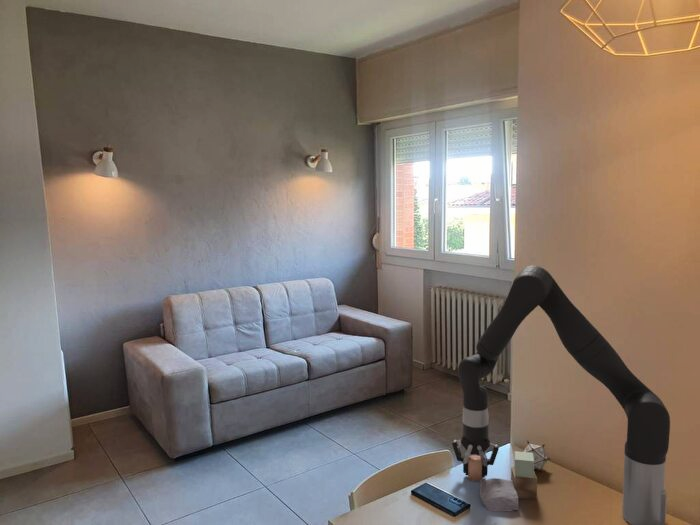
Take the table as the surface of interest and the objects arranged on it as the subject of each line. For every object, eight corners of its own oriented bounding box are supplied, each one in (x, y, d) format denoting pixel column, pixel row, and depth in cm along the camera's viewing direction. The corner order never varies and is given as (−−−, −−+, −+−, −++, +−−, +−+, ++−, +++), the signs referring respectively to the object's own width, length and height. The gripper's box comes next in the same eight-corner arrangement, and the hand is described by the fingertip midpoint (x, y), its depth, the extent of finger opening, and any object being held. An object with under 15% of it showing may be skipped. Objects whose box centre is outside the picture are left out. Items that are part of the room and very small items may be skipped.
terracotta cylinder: (483, 474, 162) (483, 456, 161) (482, 482, 158) (482, 463, 157) (468, 473, 164) (468, 454, 163) (467, 480, 159) (467, 461, 159)
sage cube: (532, 469, 153) (532, 452, 152) (533, 478, 148) (534, 461, 148) (514, 467, 154) (514, 451, 154) (514, 476, 150) (515, 459, 149)
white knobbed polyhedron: (539, 478, 166) (559, 454, 165) (533, 481, 159) (554, 455, 158) (516, 457, 171) (535, 433, 170) (509, 458, 164) (529, 433, 163)
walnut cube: (532, 487, 155) (532, 467, 154) (536, 499, 149) (537, 478, 148) (511, 486, 155) (511, 467, 155) (514, 498, 150) (514, 477, 149)
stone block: (485, 517, 144) (522, 511, 143) (481, 501, 144) (518, 494, 142) (479, 495, 156) (513, 489, 155) (475, 479, 156) (510, 473, 154)
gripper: (449, 423, 157) (449, 478, 159) (499, 428, 153) (499, 485, 155) (452, 413, 164) (453, 466, 166) (500, 418, 160) (500, 472, 162)
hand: (475, 474), depth 161 cm, fingers closed on terracotta cylinder, 4 cm apart
